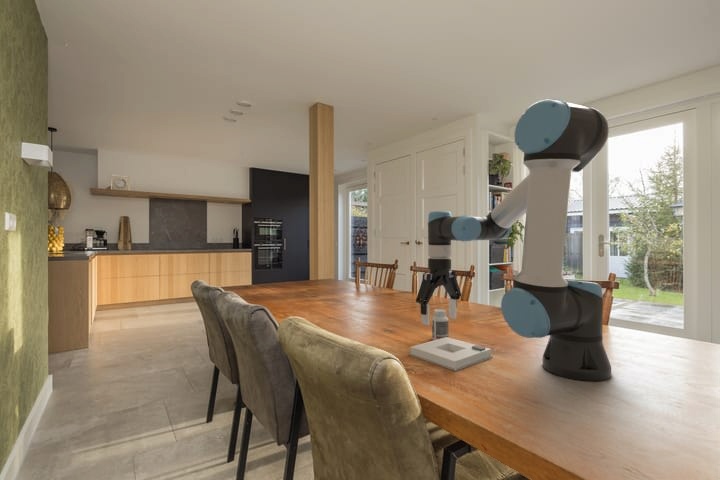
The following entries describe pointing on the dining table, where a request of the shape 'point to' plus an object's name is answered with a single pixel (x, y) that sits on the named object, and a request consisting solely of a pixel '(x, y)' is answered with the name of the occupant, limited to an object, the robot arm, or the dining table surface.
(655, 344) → the dining table surface
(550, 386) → the dining table surface
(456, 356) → the socket plate
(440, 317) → the pill bottle
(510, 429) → the dining table surface
